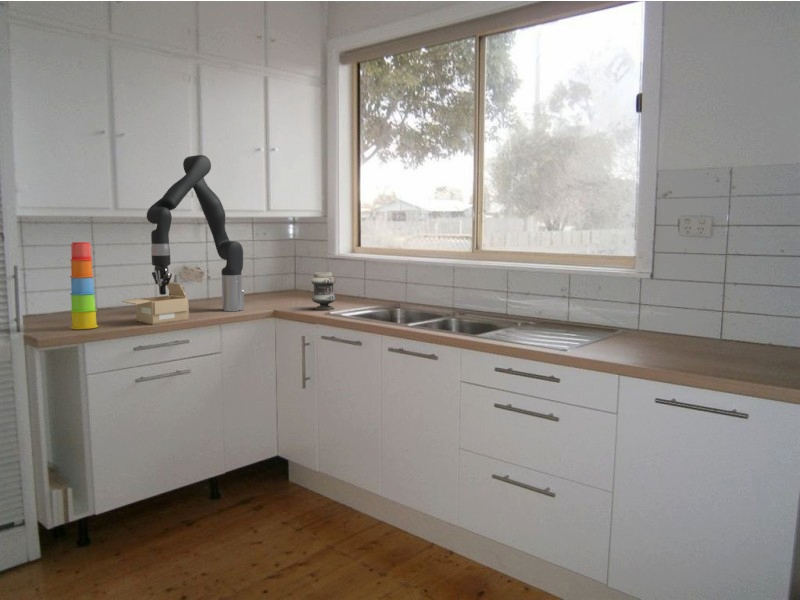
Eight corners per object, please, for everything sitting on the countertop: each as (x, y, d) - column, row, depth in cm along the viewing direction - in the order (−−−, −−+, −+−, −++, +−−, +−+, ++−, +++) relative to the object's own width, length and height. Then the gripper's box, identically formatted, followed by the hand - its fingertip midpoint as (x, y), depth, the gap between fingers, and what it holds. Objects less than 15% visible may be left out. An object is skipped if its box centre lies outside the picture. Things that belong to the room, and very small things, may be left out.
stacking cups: (64, 328, 256) (59, 242, 252) (88, 325, 265) (83, 241, 261) (80, 331, 251) (74, 242, 247) (104, 327, 260) (99, 242, 255)
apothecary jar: (316, 307, 320) (316, 271, 318) (339, 307, 318) (339, 271, 316) (308, 310, 309) (307, 273, 306) (332, 311, 306) (331, 273, 304)
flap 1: (135, 298, 273) (122, 300, 268) (149, 300, 265) (136, 303, 261) (135, 299, 273) (122, 301, 268) (150, 301, 265) (136, 304, 261)
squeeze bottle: (181, 314, 295) (179, 275, 293) (165, 313, 297) (163, 275, 294) (190, 311, 303) (188, 274, 301) (174, 311, 305) (173, 273, 302)
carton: (171, 316, 288) (170, 295, 287) (189, 320, 278) (188, 297, 277) (136, 321, 275) (135, 298, 274) (153, 325, 266) (152, 301, 265)
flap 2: (171, 293, 285) (165, 281, 283) (186, 295, 277) (180, 283, 275) (170, 293, 285) (164, 282, 282) (185, 296, 277) (179, 284, 275)
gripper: (177, 254, 272) (178, 294, 274) (161, 253, 280) (162, 292, 283) (160, 255, 266) (162, 296, 268) (144, 254, 275) (146, 294, 277)
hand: (162, 294), depth 276 cm, fingers closed
